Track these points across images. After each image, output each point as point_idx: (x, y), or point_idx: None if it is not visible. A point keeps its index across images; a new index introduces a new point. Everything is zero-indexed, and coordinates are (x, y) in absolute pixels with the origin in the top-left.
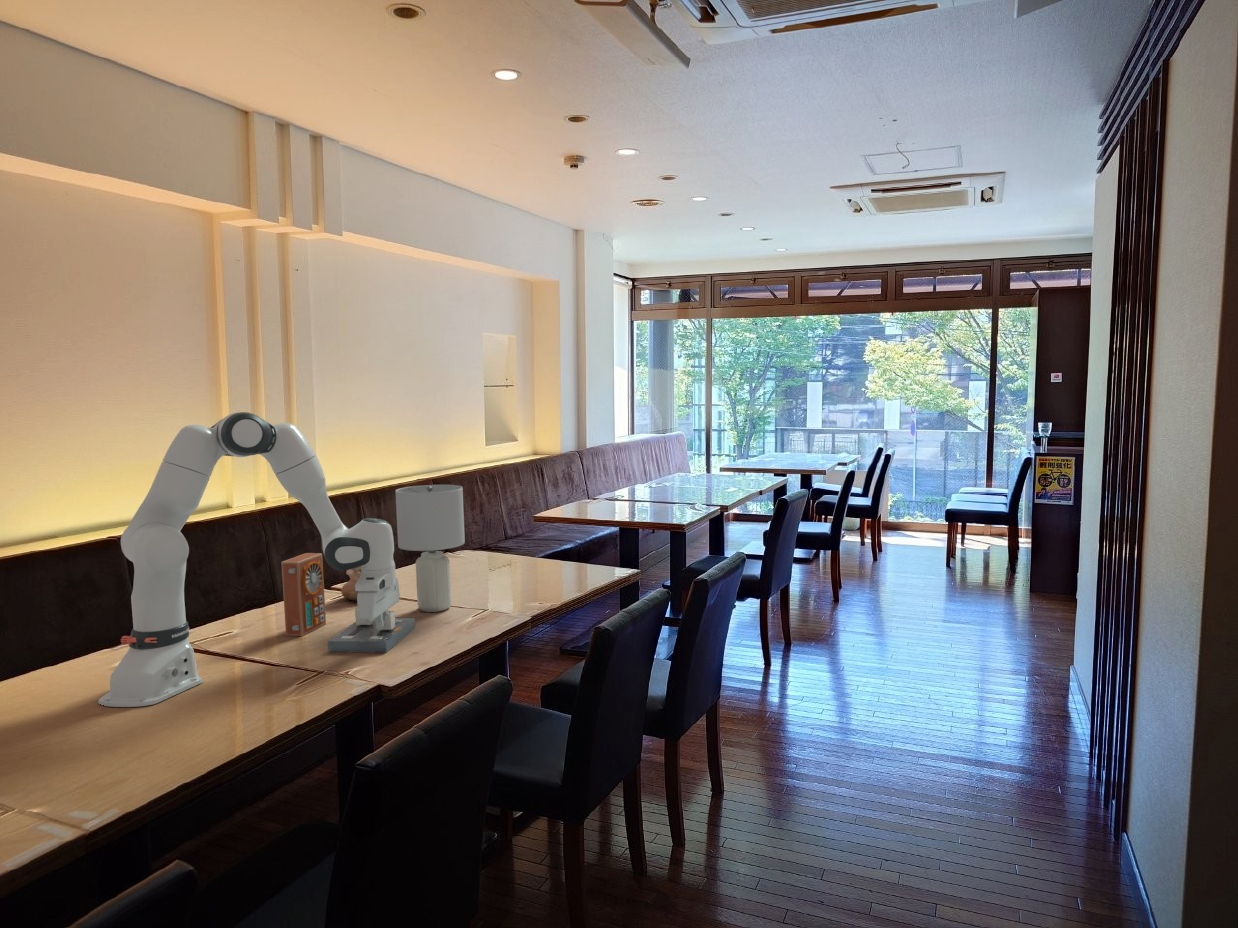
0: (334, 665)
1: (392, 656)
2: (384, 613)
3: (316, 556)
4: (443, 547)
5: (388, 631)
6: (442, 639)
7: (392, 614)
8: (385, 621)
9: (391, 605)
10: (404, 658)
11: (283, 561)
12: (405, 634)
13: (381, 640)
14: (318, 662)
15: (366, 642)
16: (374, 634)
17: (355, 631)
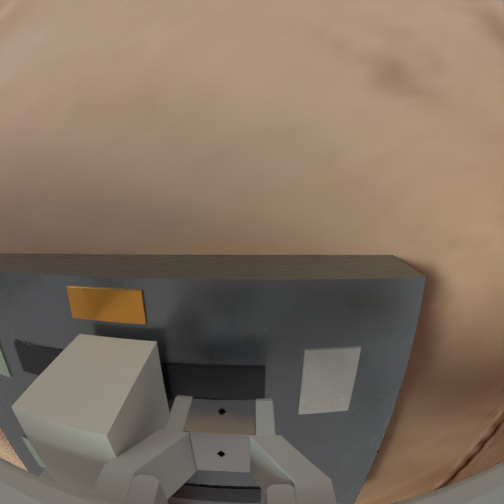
0: (490, 392)
1: (449, 196)
2: (162, 489)
3: None
4: None
5: (166, 353)
6: (124, 9)
7: (65, 408)
8: (191, 422)
9: (29, 487)
10: (471, 121)
11: None
12: (64, 257)
13: (395, 321)
14: (443, 450)
15: (395, 395)
16: None
17: (204, 493)
